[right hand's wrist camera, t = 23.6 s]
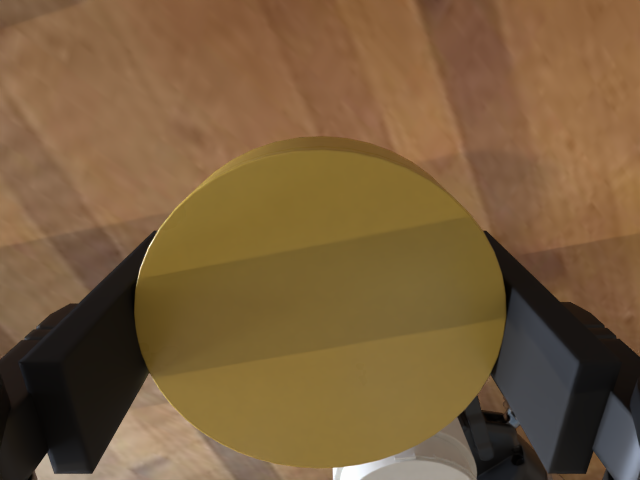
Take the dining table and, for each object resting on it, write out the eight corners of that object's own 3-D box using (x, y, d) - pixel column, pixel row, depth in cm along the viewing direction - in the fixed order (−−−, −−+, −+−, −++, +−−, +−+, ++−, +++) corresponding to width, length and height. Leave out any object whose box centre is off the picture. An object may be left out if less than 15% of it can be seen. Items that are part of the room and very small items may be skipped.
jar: (418, 351, 41) (489, 552, 24) (333, 362, 41) (345, 567, 24) (411, 276, 38) (488, 446, 21) (320, 289, 38) (323, 465, 21)
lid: (99, 212, 11) (56, 240, 9) (427, 77, 10) (450, 78, 8) (246, 446, 14) (235, 501, 13) (509, 366, 13) (539, 415, 11)
